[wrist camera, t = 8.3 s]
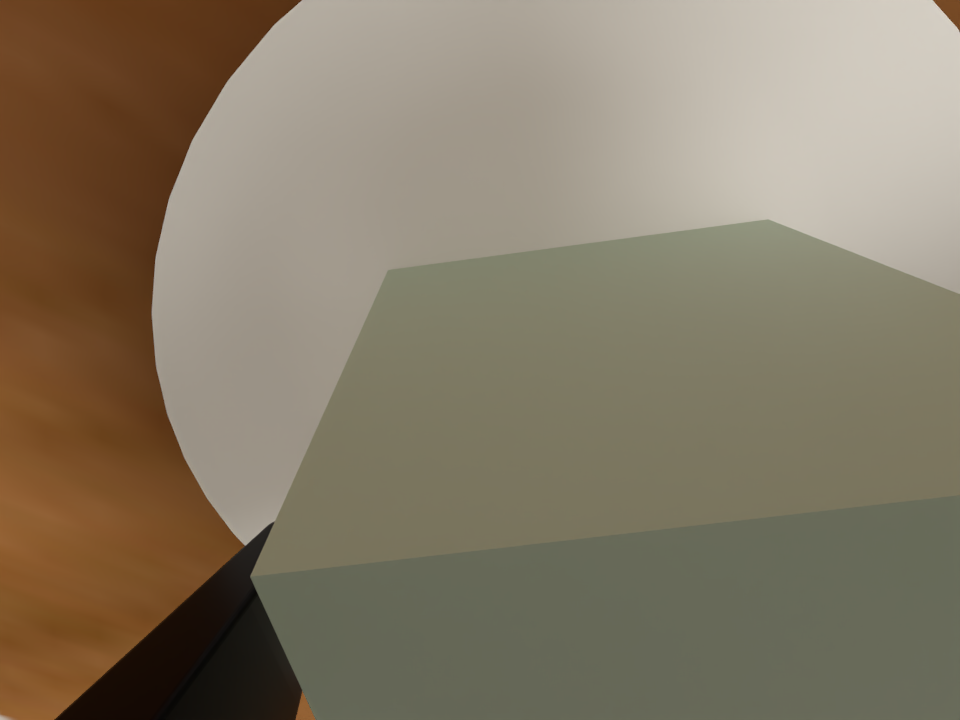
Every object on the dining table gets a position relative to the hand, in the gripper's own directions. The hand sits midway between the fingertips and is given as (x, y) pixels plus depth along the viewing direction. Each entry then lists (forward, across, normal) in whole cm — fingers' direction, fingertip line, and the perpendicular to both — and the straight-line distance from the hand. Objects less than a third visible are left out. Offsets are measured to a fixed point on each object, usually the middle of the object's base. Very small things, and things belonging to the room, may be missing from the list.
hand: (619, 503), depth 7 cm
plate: (+4, 0, 0) cm, 4 cm away
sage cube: (+2, 0, 0) cm, 3 cm away
